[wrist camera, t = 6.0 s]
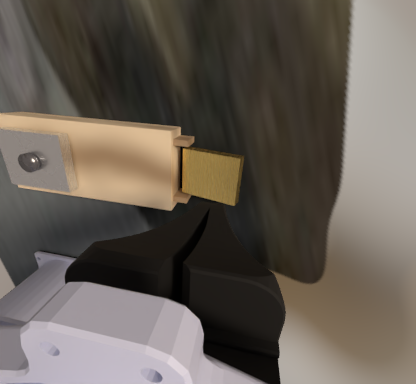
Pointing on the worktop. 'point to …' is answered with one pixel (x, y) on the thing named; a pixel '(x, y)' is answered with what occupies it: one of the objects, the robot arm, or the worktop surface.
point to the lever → (212, 174)
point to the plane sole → (116, 158)
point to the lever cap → (38, 158)
